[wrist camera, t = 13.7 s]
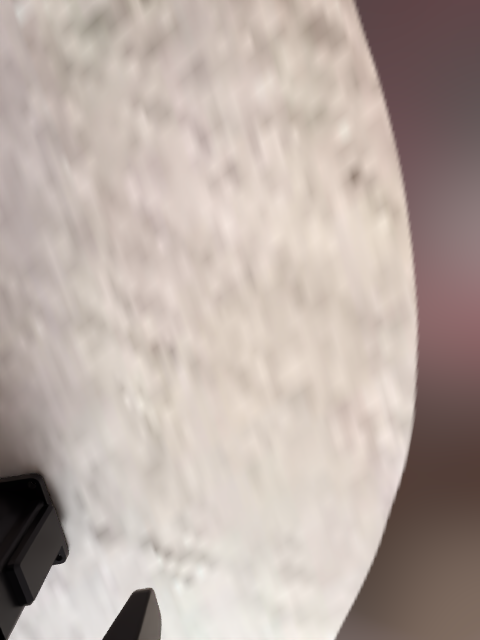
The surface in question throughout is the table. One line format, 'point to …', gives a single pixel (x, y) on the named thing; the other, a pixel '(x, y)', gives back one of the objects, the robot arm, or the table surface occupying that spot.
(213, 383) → the table surface
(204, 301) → the table surface
